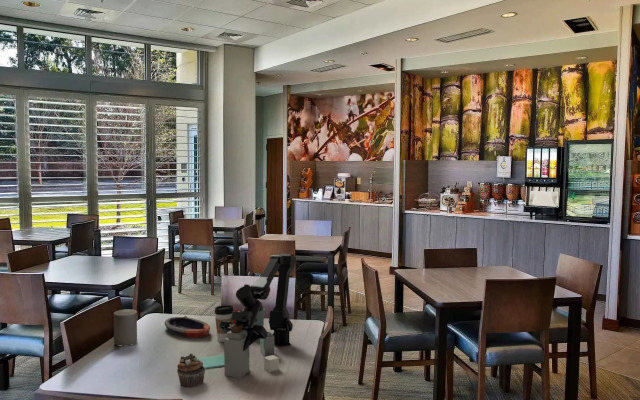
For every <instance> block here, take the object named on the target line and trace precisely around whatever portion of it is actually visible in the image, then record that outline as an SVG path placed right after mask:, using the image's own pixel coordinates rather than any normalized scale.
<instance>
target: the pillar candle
mask: <svg viewBox="0 0 640 400" xmlns="http://www.w3.org/2000/svg"><path fill="white" fill-rule="evenodd" d="M113 340H114V342H113V344H114V343H115V344H116V345H129V346H132V345H131V344H133V345H135V344H137V343H136V342H138V311H137V310H135V309H129V308H128V309H126V308H125V309H119V310H116V311H114V312H113ZM134 343H135V344H134ZM116 345H115V346H116Z"/></svg>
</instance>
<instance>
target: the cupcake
mask: <svg viewBox="0 0 640 400" xmlns="http://www.w3.org/2000/svg"><path fill="white" fill-rule="evenodd" d="M198 358H199V357H197V356H196V355H194V354H193V353H190V354H188V356H187V355H186V356H184V355H183V356H180V359H179V363H178V364H177V376H178V380H179V383H180V384H179V385H180V386H181V387H183V388H187V389H188V388H189V389H190V388H196V387H199V386H201V385H202V384H203V383H204V378H205V373H206V369H205V367H203V366H202V365H203V362H202V361H201V360H199V359H198Z"/></svg>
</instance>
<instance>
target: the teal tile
mask: <svg viewBox="0 0 640 400" xmlns="http://www.w3.org/2000/svg"><path fill="white" fill-rule="evenodd" d="M197 358H198V359H199V360H201V361H202V362H203V365H202V366H203V367H205V370H207V369H208V370H209V369H214V368H221V367H224V354H219V355H210V356H203V357H197Z"/></svg>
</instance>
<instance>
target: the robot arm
mask: <svg viewBox="0 0 640 400" xmlns="http://www.w3.org/2000/svg"><path fill="white" fill-rule="evenodd" d="M296 263H297V257H296V256H295V254H293V253H283V252H282V253H281V252H280V253H278V254H271V255H270V257H269V261H268V262H267V264H266V266H265V268H264V269H263V272H262V273H261V275H260V276H259V278H258V279H256V280H254V281H253V283H252V284H246V283H245V284H244V285H243V286H241V287H239V288H238V289H237V290H236V292H235V298H237V300H238V301H239V303H240V304H241V305H242V306H243V307H244V308H243V309H244V310H243V309H242V310H240V311H239V312H238V311H237V310H236V311H237V312H236V311H235V310H234V311H233V312H232V316H231V320H235V323H236V324H241V325H242V330H246V332H247V337H246V340H245V343H244V347H243V351H245V350H246V349H247V348H248V347H249V348H250V346H251V345H253V344H254V343H255V342H256V341H260V338H261V339H266V338H267V335H268V332H269V331H267V329H266V328H265V326H264V325H263V326H261V325H254V326H253V324H254V322H257V319H256V317H257V315H258V312H259V310H260V309H263V308H264V306H263V303H262V302H261V300H262V301H265V300H267V299H268V297H269V295H270V292H271V283H272V282H273V279H274V278H275V276H276V275H277V272H278V278H277V287H276V296H275V305H274V307H273V308H272V310H270V311H269V318H268V324H269V330H270V331H273V333H271V334H272V335H273V336H274V347H276V348H277V347H284V346H285V347H286V346H291V343H290V332H292V331H293V328H294V324H293V322H292V321H291V318H290V313H289V310H288V309H287V304H288V294H289V288H290V287H289V286H290V276H291V274H292V272H293V271H294V270H295V266H296ZM232 325H233V324H232V323H231V321H224V320H223V321H221V322H220V324H219V327H220V328H221V329H222V331H223V332H224V333H226V334H227V332H229V331H230V330H231V327H230V326H232ZM252 327H253V328H252ZM227 337H228V336H227Z"/></svg>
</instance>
